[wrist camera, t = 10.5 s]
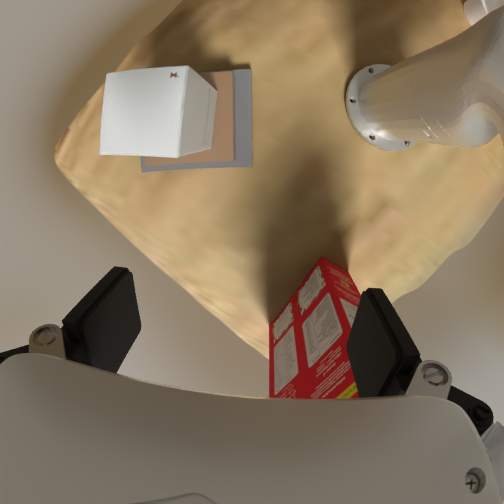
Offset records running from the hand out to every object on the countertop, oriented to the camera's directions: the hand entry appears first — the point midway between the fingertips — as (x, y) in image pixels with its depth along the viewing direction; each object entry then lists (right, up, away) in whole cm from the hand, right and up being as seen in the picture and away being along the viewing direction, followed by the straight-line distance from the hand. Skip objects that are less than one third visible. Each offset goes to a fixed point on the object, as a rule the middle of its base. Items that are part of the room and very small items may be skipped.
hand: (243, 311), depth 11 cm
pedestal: (-7, +20, +23) cm, 31 cm away
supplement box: (-8, +18, +19) cm, 27 cm away
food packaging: (+9, -5, +32) cm, 34 cm away
